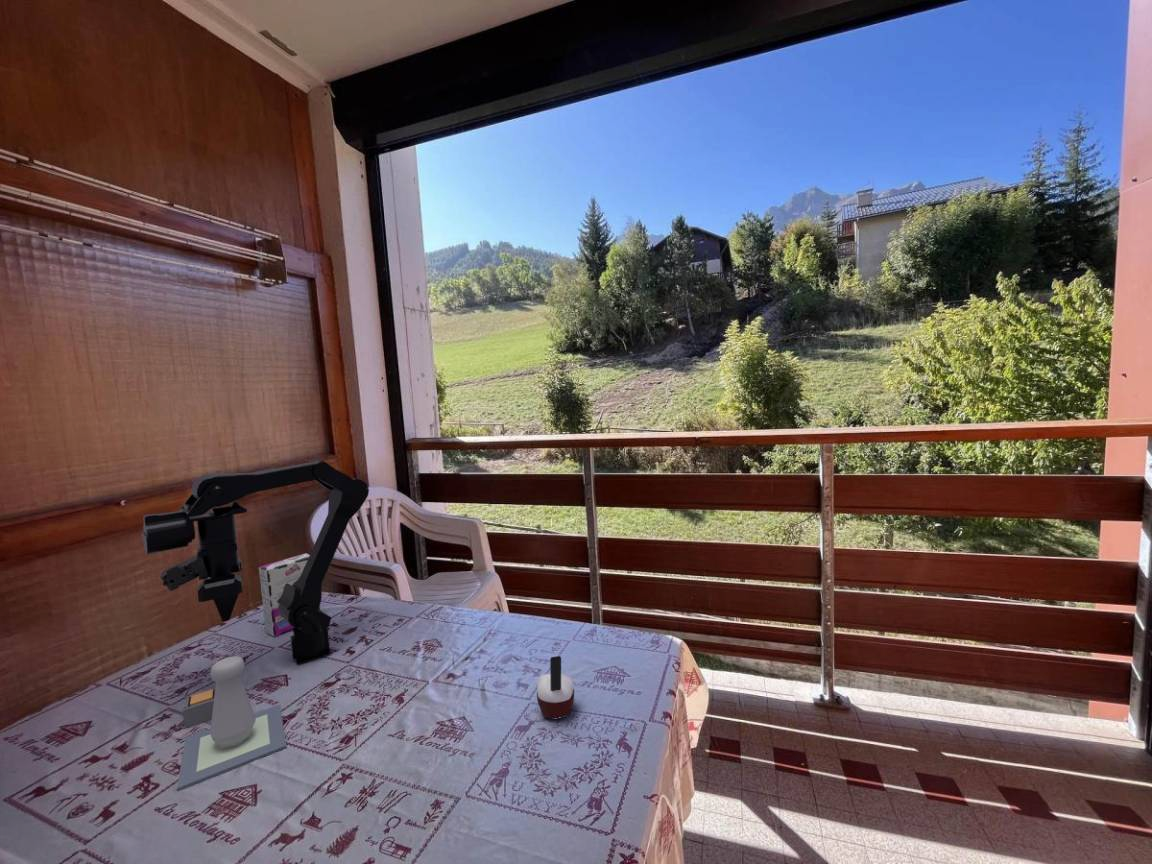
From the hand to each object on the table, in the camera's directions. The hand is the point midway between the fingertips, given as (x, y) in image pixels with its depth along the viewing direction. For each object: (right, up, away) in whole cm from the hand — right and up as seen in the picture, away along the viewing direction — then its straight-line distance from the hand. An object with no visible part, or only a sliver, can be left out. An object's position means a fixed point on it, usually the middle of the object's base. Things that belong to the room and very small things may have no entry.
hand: (225, 620), depth 90 cm
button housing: (+2, -13, -8) cm, 16 cm away
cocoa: (+64, -11, -12) cm, 66 cm away
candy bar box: (-2, -12, +26) cm, 28 cm away
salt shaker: (+13, -13, -15) cm, 24 cm away
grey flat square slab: (+13, -13, -16) cm, 24 cm away
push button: (+2, -13, -8) cm, 15 cm away
